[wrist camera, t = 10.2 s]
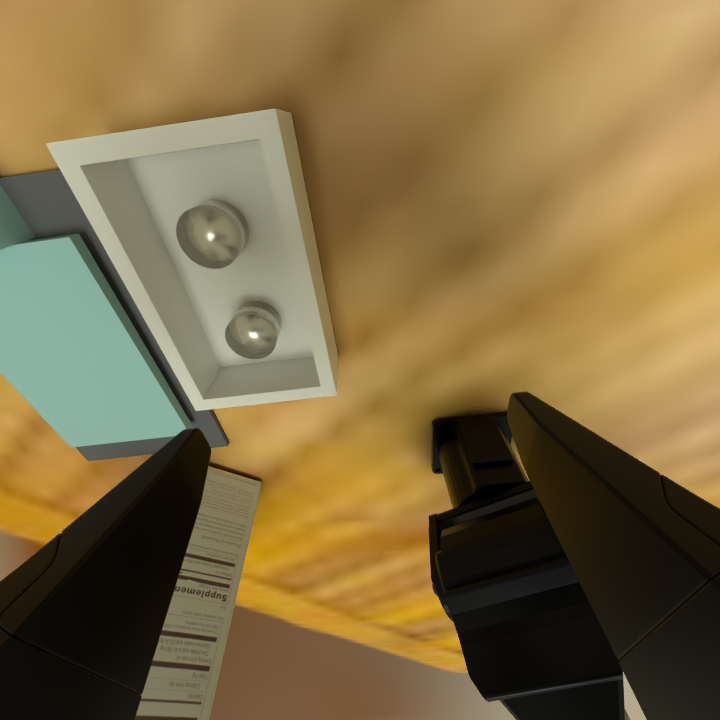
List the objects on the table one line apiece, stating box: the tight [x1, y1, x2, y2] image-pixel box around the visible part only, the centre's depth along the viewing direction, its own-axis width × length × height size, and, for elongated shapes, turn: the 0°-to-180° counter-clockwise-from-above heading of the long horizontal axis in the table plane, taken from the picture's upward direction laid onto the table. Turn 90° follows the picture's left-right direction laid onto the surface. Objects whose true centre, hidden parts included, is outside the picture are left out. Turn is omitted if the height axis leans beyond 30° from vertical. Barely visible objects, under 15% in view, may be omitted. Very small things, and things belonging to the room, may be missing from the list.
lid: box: [0, 185, 194, 447], centre depth 19 cm, size 18×9×5 cm, turn 7°
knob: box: [225, 301, 282, 359], centre depth 19 cm, size 3×3×2 cm
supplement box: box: [135, 466, 262, 720], centre depth 24 cm, size 10×9×17 cm
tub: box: [46, 108, 338, 411], centre depth 17 cm, size 14×9×4 cm, turn 7°
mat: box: [0, 169, 229, 461], centre depth 22 cm, size 20×12×1 cm, turn 7°
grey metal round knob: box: [176, 199, 249, 269], centre depth 16 cm, size 3×3×2 cm
